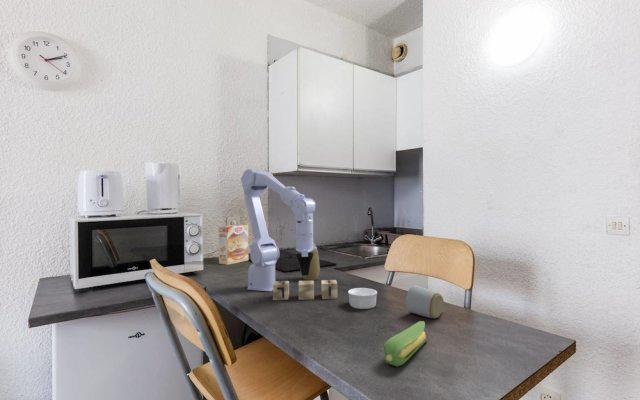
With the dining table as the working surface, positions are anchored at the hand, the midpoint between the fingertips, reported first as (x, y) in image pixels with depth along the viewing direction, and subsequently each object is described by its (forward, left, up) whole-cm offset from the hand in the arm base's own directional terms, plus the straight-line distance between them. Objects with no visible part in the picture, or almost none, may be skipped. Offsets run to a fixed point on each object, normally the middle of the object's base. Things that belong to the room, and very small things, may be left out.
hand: (305, 274), depth 112 cm
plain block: (0, 0, -8) cm, 8 cm away
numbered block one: (+8, +3, -8) cm, 11 cm away
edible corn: (+36, -31, -8) cm, 48 cm away
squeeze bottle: (-7, +24, -8) cm, 26 cm away
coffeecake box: (-59, +49, -8) cm, 77 cm away
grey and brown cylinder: (+39, -6, -8) cm, 40 cm away
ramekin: (+20, -3, -8) cm, 22 cm away
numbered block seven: (-7, -3, -8) cm, 11 cm away
